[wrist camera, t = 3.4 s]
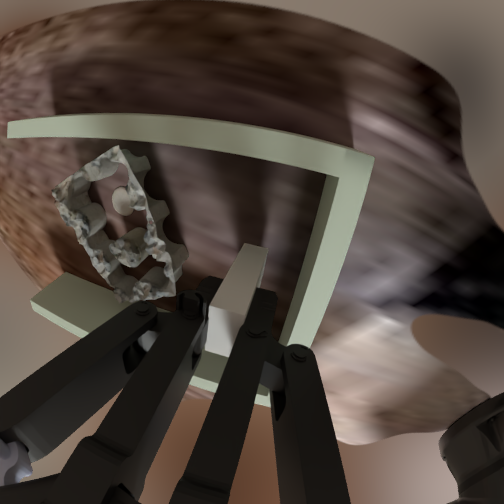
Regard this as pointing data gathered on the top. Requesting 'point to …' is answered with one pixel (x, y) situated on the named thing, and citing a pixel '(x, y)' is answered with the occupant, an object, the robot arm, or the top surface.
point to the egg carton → (131, 244)
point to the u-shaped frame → (237, 142)
